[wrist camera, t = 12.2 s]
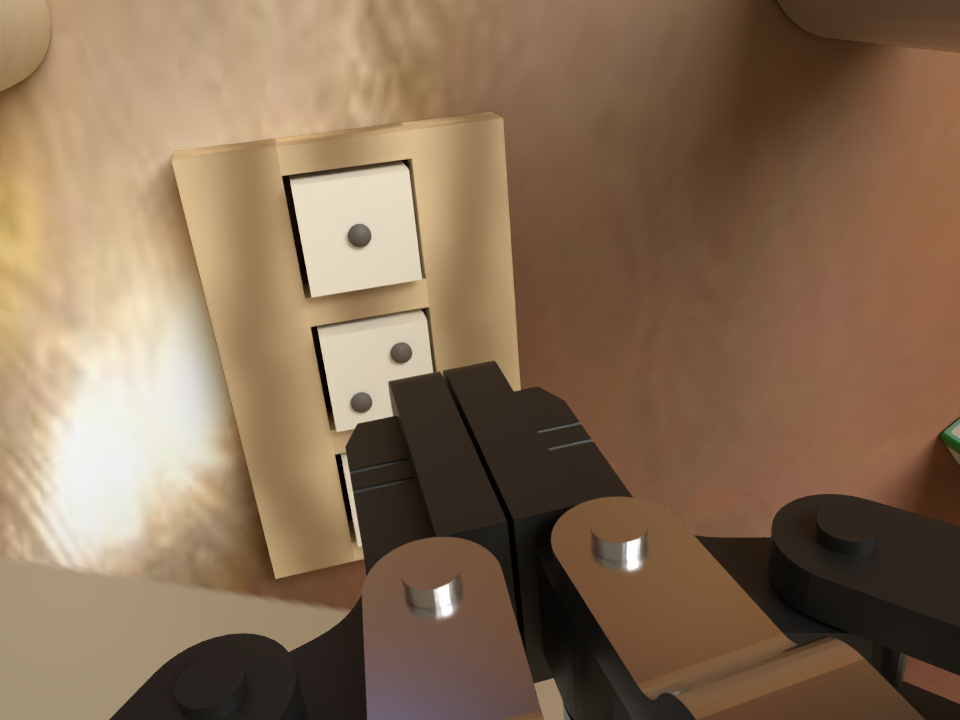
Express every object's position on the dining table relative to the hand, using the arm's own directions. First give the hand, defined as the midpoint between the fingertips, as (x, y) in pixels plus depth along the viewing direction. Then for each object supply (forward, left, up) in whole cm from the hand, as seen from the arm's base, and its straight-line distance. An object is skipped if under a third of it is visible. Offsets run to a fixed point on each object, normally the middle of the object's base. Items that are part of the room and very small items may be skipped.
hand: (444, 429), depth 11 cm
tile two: (-1, +11, -27) cm, 29 cm away
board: (-1, +11, -27) cm, 30 cm away
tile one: (-1, +4, -27) cm, 27 cm away
